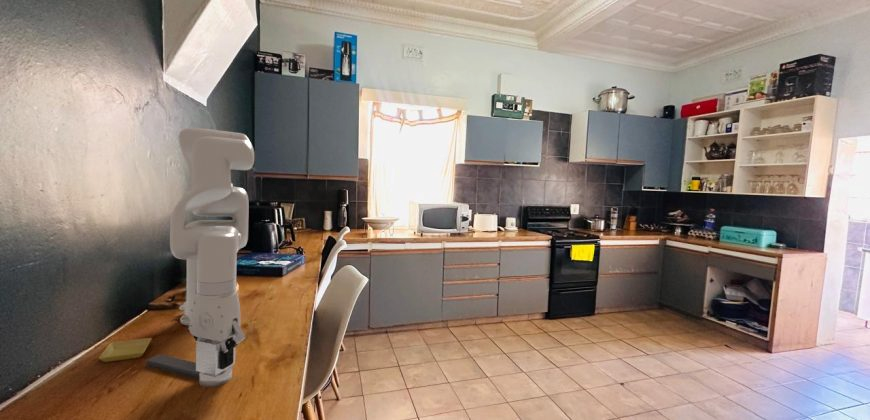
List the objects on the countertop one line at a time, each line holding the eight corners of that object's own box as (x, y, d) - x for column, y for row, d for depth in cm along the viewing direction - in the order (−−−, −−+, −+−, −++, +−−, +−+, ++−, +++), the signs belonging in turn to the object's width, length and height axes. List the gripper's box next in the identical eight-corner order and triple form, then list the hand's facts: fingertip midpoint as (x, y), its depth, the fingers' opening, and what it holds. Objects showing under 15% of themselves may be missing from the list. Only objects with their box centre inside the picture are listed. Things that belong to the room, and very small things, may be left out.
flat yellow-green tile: (144, 360, 88) (144, 351, 88) (98, 366, 85) (97, 358, 84) (152, 344, 96) (152, 337, 96) (110, 350, 92) (110, 342, 92)
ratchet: (139, 369, 84) (139, 347, 83) (166, 357, 90) (166, 336, 89) (215, 389, 78) (215, 365, 77) (238, 374, 84) (238, 352, 84)
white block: (195, 370, 80) (196, 340, 79) (216, 359, 85) (216, 331, 84) (215, 375, 78) (215, 344, 78) (234, 363, 84) (235, 335, 83)
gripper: (171, 285, 79) (171, 364, 80) (234, 296, 74) (233, 380, 76) (201, 277, 86) (200, 350, 87) (261, 287, 82) (259, 363, 83)
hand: (216, 363), depth 82 cm, fingers closed on white block, 5 cm apart
